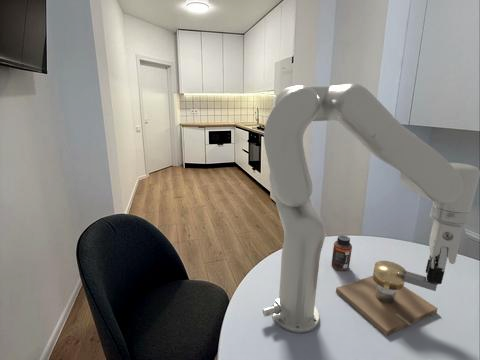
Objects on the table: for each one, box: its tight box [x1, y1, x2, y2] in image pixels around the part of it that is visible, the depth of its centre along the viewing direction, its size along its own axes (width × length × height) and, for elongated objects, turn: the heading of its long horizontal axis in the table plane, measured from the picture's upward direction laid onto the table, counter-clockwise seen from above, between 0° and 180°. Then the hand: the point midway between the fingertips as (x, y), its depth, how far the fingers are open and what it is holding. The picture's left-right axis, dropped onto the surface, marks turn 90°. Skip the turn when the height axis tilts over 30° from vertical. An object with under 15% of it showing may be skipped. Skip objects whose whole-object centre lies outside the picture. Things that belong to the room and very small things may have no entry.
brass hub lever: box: [372, 256, 439, 292], centre depth 77 cm, size 16×10×11 cm, turn 58°
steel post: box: [375, 284, 396, 304], centre depth 81 cm, size 5×5×6 cm
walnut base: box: [335, 275, 438, 337], centre depth 82 cm, size 20×19×2 cm
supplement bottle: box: [331, 234, 353, 271], centre depth 98 cm, size 6×6×11 cm
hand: (433, 277), depth 74 cm, fingers closed on brass hub lever, 3 cm apart
